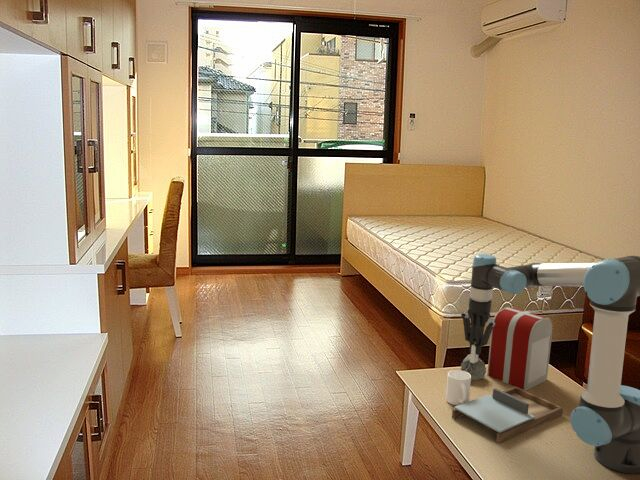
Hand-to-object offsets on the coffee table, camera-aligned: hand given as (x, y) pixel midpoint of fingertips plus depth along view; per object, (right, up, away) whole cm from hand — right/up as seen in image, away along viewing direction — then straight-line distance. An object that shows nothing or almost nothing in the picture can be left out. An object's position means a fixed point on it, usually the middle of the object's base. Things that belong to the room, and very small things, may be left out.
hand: (473, 361), depth 223 cm
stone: (+6, -11, +26) cm, 29 cm away
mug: (-5, -16, +4) cm, 17 cm away
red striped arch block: (+24, -12, +27) cm, 38 cm away
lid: (+4, -16, -10) cm, 19 cm away
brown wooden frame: (+10, -18, -5) cm, 21 cm away
